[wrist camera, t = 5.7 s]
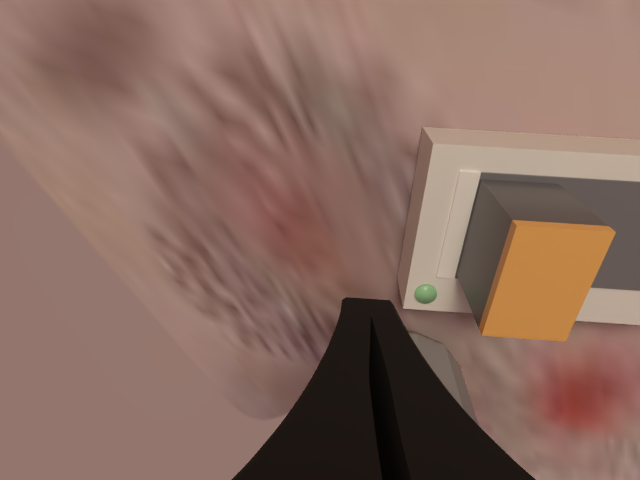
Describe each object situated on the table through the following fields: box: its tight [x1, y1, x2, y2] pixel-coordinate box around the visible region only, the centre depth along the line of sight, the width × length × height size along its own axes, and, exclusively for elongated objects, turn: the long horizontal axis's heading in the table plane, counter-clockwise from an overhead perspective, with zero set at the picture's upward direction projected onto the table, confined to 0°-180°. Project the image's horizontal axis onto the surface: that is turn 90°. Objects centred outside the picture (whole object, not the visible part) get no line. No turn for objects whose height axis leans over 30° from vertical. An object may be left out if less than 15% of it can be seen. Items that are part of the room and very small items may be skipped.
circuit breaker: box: [397, 127, 640, 325], centre depth 18 cm, size 13×8×3 cm, turn 87°
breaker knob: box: [457, 179, 616, 341], centre depth 15 cm, size 3×4×4 cm, turn 177°
